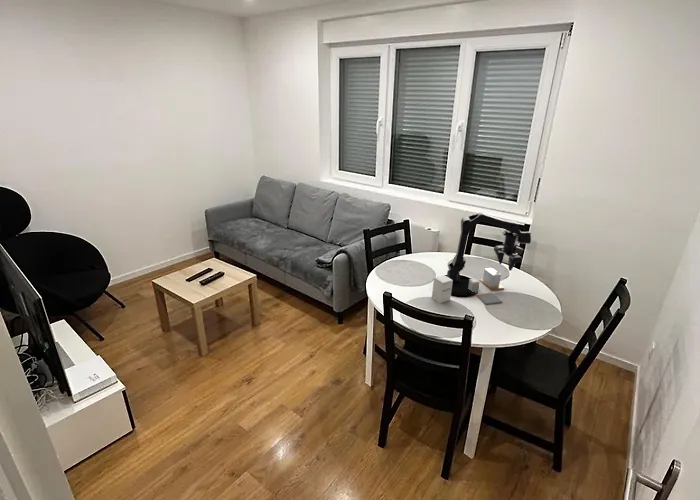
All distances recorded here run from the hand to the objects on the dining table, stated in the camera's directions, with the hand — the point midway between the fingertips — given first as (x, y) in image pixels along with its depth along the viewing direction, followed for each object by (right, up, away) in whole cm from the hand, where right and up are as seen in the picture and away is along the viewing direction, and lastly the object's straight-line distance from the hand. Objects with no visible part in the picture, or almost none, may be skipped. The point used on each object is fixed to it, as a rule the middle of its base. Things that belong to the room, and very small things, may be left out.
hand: (505, 267), depth 224 cm
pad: (-14, -17, -12) cm, 25 cm away
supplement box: (-41, -17, -13) cm, 46 cm away
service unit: (-7, -11, +3) cm, 13 cm away
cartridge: (-20, -14, -4) cm, 25 cm away
